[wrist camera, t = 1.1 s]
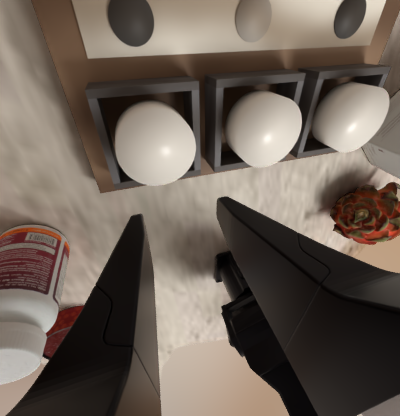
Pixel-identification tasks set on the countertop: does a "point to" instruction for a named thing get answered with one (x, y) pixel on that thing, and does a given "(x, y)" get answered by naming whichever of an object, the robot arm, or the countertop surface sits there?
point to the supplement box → (387, 141)
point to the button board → (207, 65)
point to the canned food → (60, 330)
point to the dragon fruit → (368, 214)
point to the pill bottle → (29, 295)
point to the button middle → (263, 127)
